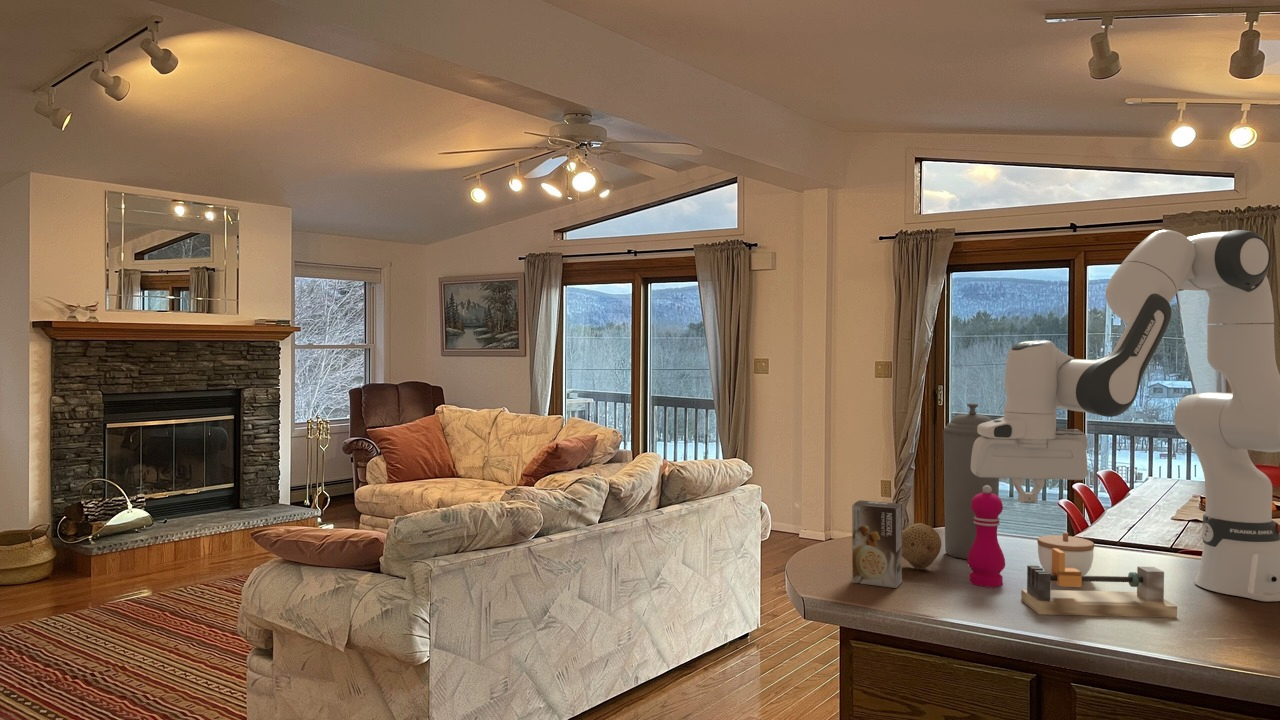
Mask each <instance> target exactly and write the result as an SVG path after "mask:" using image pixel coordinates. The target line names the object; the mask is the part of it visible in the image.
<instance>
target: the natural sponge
mask: <svg viewBox="0 0 1280 720" xmlns="http://www.w3.org/2000/svg"><path fill="white" fill-rule="evenodd" d="M941 548H942V540H941V536H940V535H939V533H938V532H937V531H936V530H935V529H934V528H933V527H932V526H930V525H927V524H925V523H921V522H919V523H912V524H910V525H909V526H907V527H906V528H905V529H904V530H902V559H903V558H904V560H906V561H907V562H908V563H909V564H910V565H911V566H912V567H913V568H915V569H916V570H925V569H927V568H928V567H929V566H931V565H932V564H933V562H934V561H935V560H936V559H937V557H938V556H939V554H940V551H941Z"/></svg>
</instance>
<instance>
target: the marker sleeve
mask: <svg viewBox="0 0 1280 720" xmlns="http://www.w3.org/2000/svg"><path fill="white" fill-rule="evenodd" d="M1052 575H1057V581H1051V583H1056V586H1057V587H1069V588H1070V587H1074V588H1075V587H1077V588H1078V587H1079V588H1081V587H1082V582H1083V581H1082V572H1081V571H1079V570H1077V569H1076V568H1074V567H1065V552H1063V551H1061V550H1059V549H1058V548H1052Z"/></svg>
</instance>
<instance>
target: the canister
mask: <svg viewBox="0 0 1280 720" xmlns="http://www.w3.org/2000/svg"><path fill="white" fill-rule="evenodd" d="M966 406H967V407H968V408H969V412H968V414H967V413H964V414H958V415H957V414H956V415H955V416H954V417H953V418H952V419H950V422H948V423H947V424H946V426H944V428H943V430H942V433H943V435H942V436H943V499H944V500H943V501H944V502H943V503H944V504H943V505H944V510H943V511H944V548H945V550H944V551H945V553H946V554H947V555H949V556H950V557H954V558H957V559H963V560H967V559H968V554H969V551H970V549H971V547H972V545H973V543H974V540H975V537H976V524H975V523H974V516H976V515H975V513H974V512H973V510H972V508H971V502H972V499H973V498H974V496H975V495H977V494H979V493H984V492H983V490H982V489H983V487H984V486H985V485H988V486H990V487H991V488H992V491H991V493H992V494H995V495H997V496H998V497H999V495H1000V494H999V493H1000V492H999V490H1000V478H985V477H978V476H975V475H974V474H973V473H972V471H971V455H972V449H973V444H974V442H975V440H976V439H977V438H978V437H980V436H981V435H979V434H978V432H977V427H978V425H979V424H981V423H985V422H988V421H992V420H993V419H992V418H990V417H989V416H988V415H985V414H983V415H982V414H977V412H976V408H978V407H979V404H978V403H973V402H972V403H971V402H970V403H967V404H966Z"/></svg>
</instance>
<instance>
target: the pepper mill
mask: <svg viewBox="0 0 1280 720" xmlns="http://www.w3.org/2000/svg"><path fill="white" fill-rule="evenodd" d="M982 490H983V492H984V493H979V494H977V495H975V496H974V498H973V499H972V502H971V508H972V510H973V512H974V513H975V515H976V516H974V523H975V524H976V537H975V540H974V543H973V545H972V547H971V549H970V551H969V554H968V559H966V560H967V561H966V562H967V565H968V566H969V568H970V570H971V571H970V572H969V582H970V584H973V585H975V586H978V587H985V588H999V587H1002V586H1003V575H1002V574H1001V572H1002V571H1003V570H1004V569H1005V567H1006V559H1005V554H1004V553H1003V550H1002V548H1001V546H1000V543H999V540H998V527H999V526H1000V524H1001V523H1000V520H1001V519H1000V517H999V516H1000V515H1001V514H1002V512H1003V507H1004V506H1003V505H1004V504H1003V501H1002V500H1001V498H1000V497H999V496H997V495H995V494H992V493H991V491H992V488H991V487H990V486H988V485H985V486H984V487H983V489H982Z"/></svg>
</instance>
